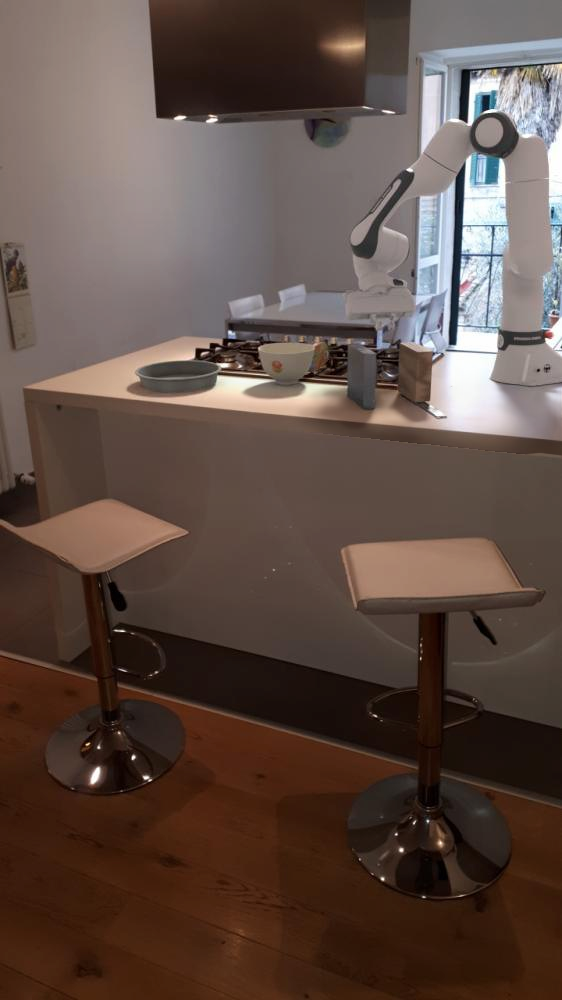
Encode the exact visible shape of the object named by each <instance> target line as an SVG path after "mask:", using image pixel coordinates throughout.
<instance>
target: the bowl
mask: <svg viewBox="0 0 562 1000" xmlns="http://www.w3.org/2000/svg"><path fill="white" fill-rule="evenodd" d="M312 345H313V344H309V343H303V342H274V343H267V344H263V345H260V346H259V347H258V348H257V351H258V354H259V359H260V362H261V366H262V369H263V370H264V372H265V373H266V374H267V375H268V376H269V377H270V378H271V379H273V380H274V381H275V384H277V385H280V386H292V385H296V384H298V383H299V380H300V379H302V378H303V377H304V376H305V375H307V374H308V373H307V372H308V370H309V369H310V366H311V363H312V359H313V354H314V350H315V347H314V346H312Z"/></svg>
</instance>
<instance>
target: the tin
mask: <svg viewBox="0 0 562 1000" xmlns="http://www.w3.org/2000/svg"><path fill="white" fill-rule="evenodd" d="M311 345H312V346H314V347H315V350H314V354H313V359H312V363H311V366H310V369H309V370H308V372H310V373H314V371H316V370H318V369H319V368H320V367H321V366H322V365H324V364H325V363H326V362H327V361H328V360H331V352H330V351H331V350H330V347H329V343H328V342H327V341H318V342H315V343H313V344H311Z"/></svg>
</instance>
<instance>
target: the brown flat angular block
mask: <svg viewBox="0 0 562 1000" xmlns="http://www.w3.org/2000/svg"><path fill="white" fill-rule="evenodd" d="M398 347H399V350H398V351H399V353H398V371H397V373H398V374H397V375H398V377H397V391H398V393H399V392H401V393H402V394H404V395H405V396H407V397H408V398H410V399H411V400H413V401H414V402H426V403H428V402H431V396H432V395H431V394H432V376H433V372H432V371H433V360H434V359H433V358H434V357H433V356H434V355H433V354H434V351H433V350H431V349H429V348H427V347H425V346H423V345H421V344H419V343H417V342H414V341H409V342H408V341H407V342H399V346H398ZM401 393H400V394H401ZM404 395H403V396H404ZM405 396H404V397H405ZM407 397H406V398H407ZM408 398H407V399H408ZM410 399H409V400H410ZM411 400H410V401H411ZM413 401H412V402H413ZM414 402H413V403H414Z"/></svg>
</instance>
